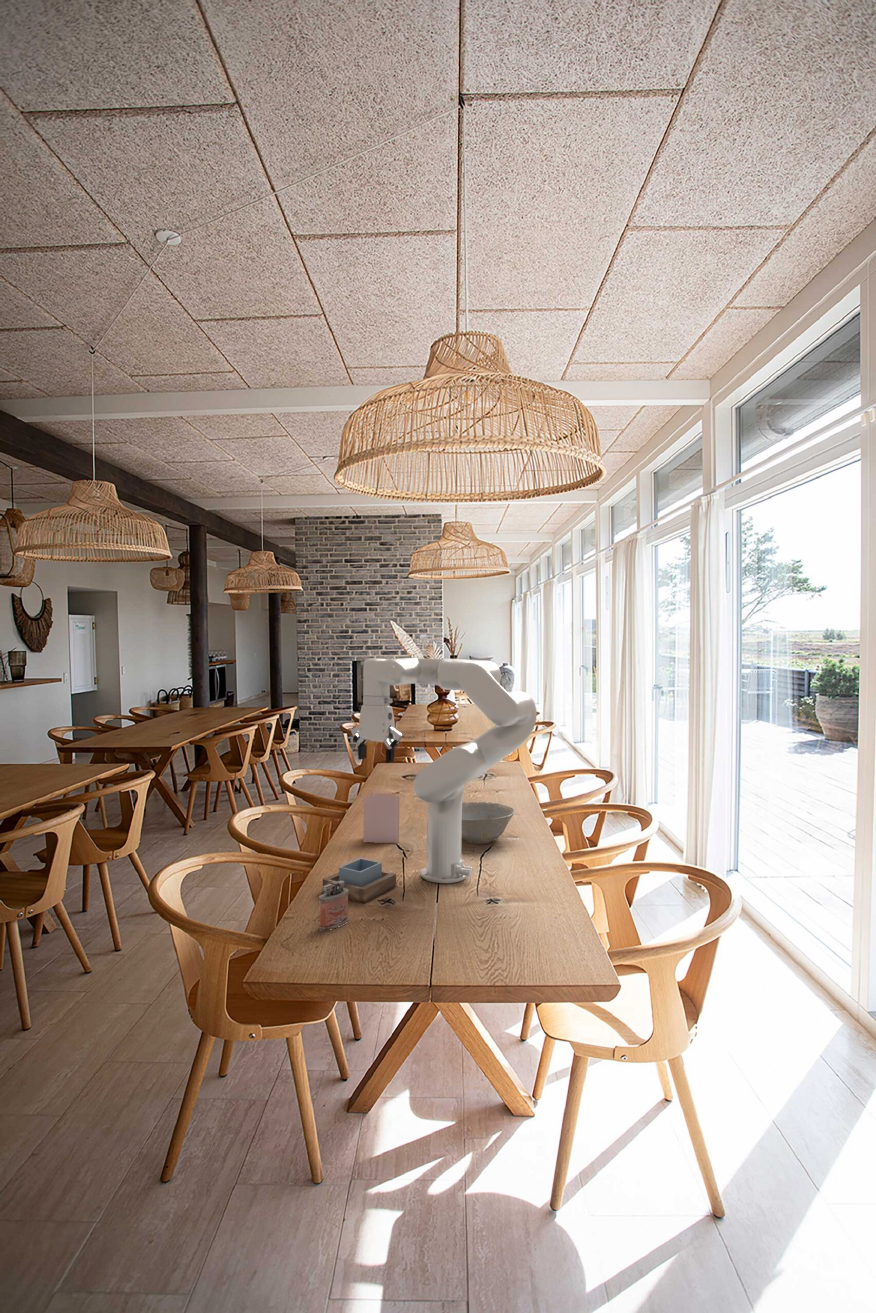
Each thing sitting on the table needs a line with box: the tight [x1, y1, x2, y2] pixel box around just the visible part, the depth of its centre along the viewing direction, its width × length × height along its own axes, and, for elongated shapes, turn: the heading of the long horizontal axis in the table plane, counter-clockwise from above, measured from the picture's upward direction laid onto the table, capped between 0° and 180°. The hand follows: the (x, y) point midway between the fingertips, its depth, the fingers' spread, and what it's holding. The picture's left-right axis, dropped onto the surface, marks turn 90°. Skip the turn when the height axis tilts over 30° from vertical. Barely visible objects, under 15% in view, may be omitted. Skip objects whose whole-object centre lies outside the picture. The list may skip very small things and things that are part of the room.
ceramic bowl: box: [462, 801, 515, 845], centre depth 232 cm, size 22×23×10 cm
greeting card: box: [362, 791, 400, 844], centre depth 229 cm, size 11×7×15 cm, turn 56°
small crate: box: [338, 857, 383, 887], centre depth 187 cm, size 7×9×6 cm
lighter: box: [318, 881, 349, 932], centre depth 164 cm, size 8×3×10 cm, turn 141°
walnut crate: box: [322, 870, 397, 904], centre depth 187 cm, size 14×14×4 cm
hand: (375, 760), depth 206 cm, fingers open, 9 cm apart
